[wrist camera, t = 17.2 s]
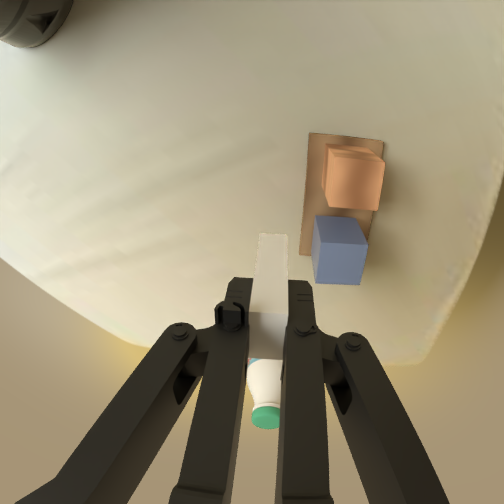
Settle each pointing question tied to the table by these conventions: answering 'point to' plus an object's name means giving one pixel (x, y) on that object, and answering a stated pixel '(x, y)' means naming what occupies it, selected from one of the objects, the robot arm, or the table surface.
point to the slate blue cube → (338, 250)
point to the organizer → (341, 182)
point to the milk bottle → (265, 391)
